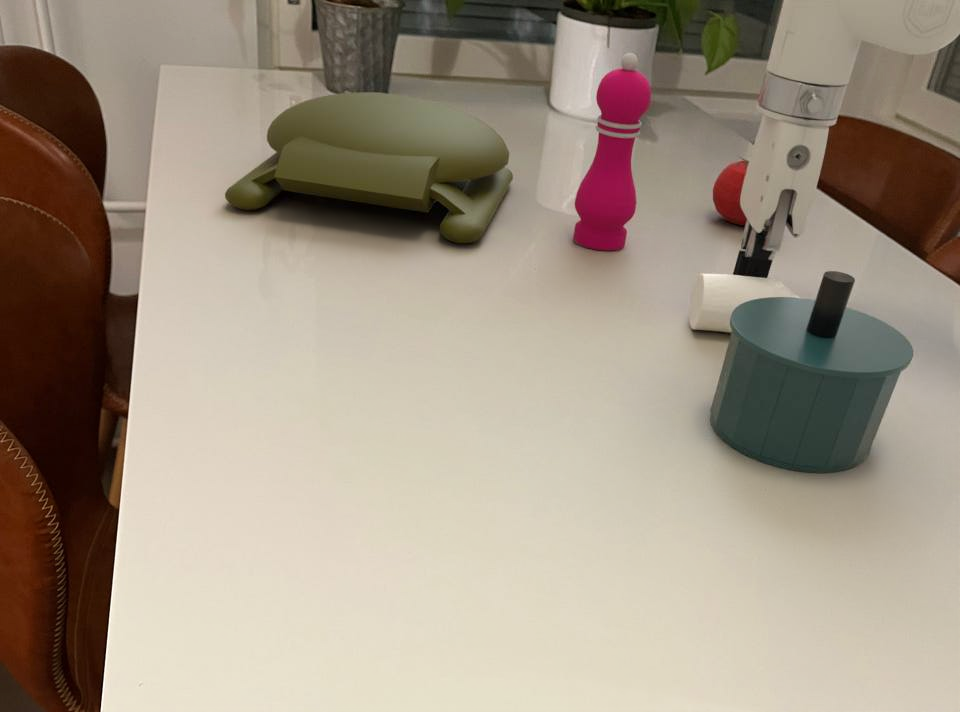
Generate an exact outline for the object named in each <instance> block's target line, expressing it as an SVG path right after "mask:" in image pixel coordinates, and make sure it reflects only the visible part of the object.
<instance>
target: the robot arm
mask: <svg viewBox="0 0 960 712" xmlns="http://www.w3.org/2000/svg"><path fill="white" fill-rule="evenodd" d="M781 7H782V8H781V10H780V14H779V18H778V22H777V26H776V29H775V34H774V36H773V41H772V44H771V50H770V53H769V58H768V61H767V65H766V69H765V72H764V76H763V80H762V82H761V83H762V84H761V87H760V91H759V95H758V99H757V103H756V106H755V110H756V112H757V113H759V114H760V115H762V118H761V121H760V124H759V126H758V131H757V133H756V136H755V140H754V143H753V146H752V150H751V153H750V157H749V160H748V161H749V164H748V167H747V171H746V175H745V178H744V183H743V187H742V192H741V197H740V205H741V208H742V210H743V212H744V214H745V216H746V218H747V221H746V225H744V230H743V234H742V238H741V243H740V250H739V249H738V250H739V251H738V254H737V257H736V262H735V265H734V268H733V273H732V275H740V276H750V277H760V278H769V274H770V271H771V268H772V264H773V261H774V259H775V255H776V252H777V253H778V252H779V251H780V249H781V246H782V241H783V237H784V232H785V228H787V229H788V232H790V234H791V235H792V237H793V238H799V237H801V236H803V234H804V233H805V230H806V229H807V228H806V227H807V224H808V220H809V217H810V213H811V210H812V205H813V201H814V199H815V194H816V190H817V187H818V182H819V179H820V176H821V170H822V167H823V163H824V158H825V154H826V149H827V143H828V137H829V131H830V127H831V126H835V125H836V124H837V121H838V117H839V113H840V112H841V107H842V104H843V102H844V97H845V94H846V92H847V88H848V85H849V82H850V79H851V76H852V73H853V69H854V66H855V63H856V59H857V56H858V53H859V50H860V46H861V44H862V42H866V43H869V44H872V45H877V46H879V47H883V48H885V49H887V50H891V51H894V52H896V53H901V54H905V55H908V56H909V55H910V56H921V55H928V54H932V53H935V52H937V51H939V50H941V49H943V48H945V47H946V46H948V45H949V44H951V43H952V42H954V41H955V40H956V39H957V38H958V37H959V35H960V0H783V2H782V6H781Z"/></svg>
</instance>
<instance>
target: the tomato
mask: <svg viewBox="0 0 960 712" xmlns="http://www.w3.org/2000/svg"><path fill="white" fill-rule="evenodd" d="M739 158H740V159H741V160H739V161H736V162H732V163H729V164H728V165H727V166H726V167H725V168H724V169H722V171H720V173H719V175H718V176H717V178H716V180H715V182H714V184H713V187H712V202H713V204H714V207H715V210H716V211H717V213H718V214H719V215H720V216H721V217H722V218H723V219H724V220H726V221H727V222H729V223H732V224H734V223H735V224H734V225H737V224H739V225H738V226H745V225H746V221H747V218H746V216H745V214H744V212H743V210H742V208H741V205H740V197H741V192H742V187H743V183H744V178H745V175H746V171H747V167H748V164H749V160H747V159H746V158H745V159H744V158H743V157H741V156H739Z"/></svg>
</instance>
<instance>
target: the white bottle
mask: <svg viewBox="0 0 960 712" xmlns="http://www.w3.org/2000/svg"><path fill="white" fill-rule="evenodd" d="M769 297H792V298H803V297H801V296H798V295H796V294H794V293H793V291H791V290H790V289H789V288H788V287H787V286H785V285H784V284H783V283H782V282H781V281H780V280H779V279H777V278H771V277H767V278H760V277H750V276H740V275H733V273H731V274H730V273H699V274H698V275H697V277H696V279H695V281H694V284H693V286H692V291H691V296H690V305H689V319H688V321H689V327H690V329H691V330H694V331H711V332H719V333H730V334H731V333H732V330H731V327H730V317H731V314H732V312H733V310H734V309H735V308H736V307H737V306H739V305H740V304H742V303H745V302H747V301H750V300H754V299H760V298H769ZM803 299H805V298H803Z"/></svg>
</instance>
